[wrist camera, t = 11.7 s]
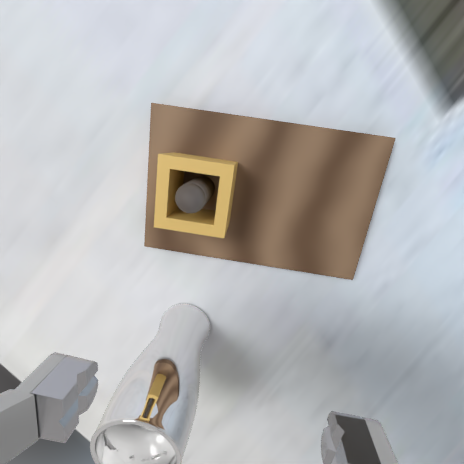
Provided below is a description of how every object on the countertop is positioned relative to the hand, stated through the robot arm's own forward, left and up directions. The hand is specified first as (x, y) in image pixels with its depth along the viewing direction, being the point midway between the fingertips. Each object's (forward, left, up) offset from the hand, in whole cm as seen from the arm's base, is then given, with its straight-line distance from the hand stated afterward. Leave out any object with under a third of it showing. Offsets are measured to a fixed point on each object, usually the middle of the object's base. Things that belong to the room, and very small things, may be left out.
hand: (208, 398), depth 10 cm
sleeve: (+4, -4, -20) cm, 20 cm away
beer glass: (+5, +13, -21) cm, 25 cm away
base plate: (-1, -4, -21) cm, 21 cm away
